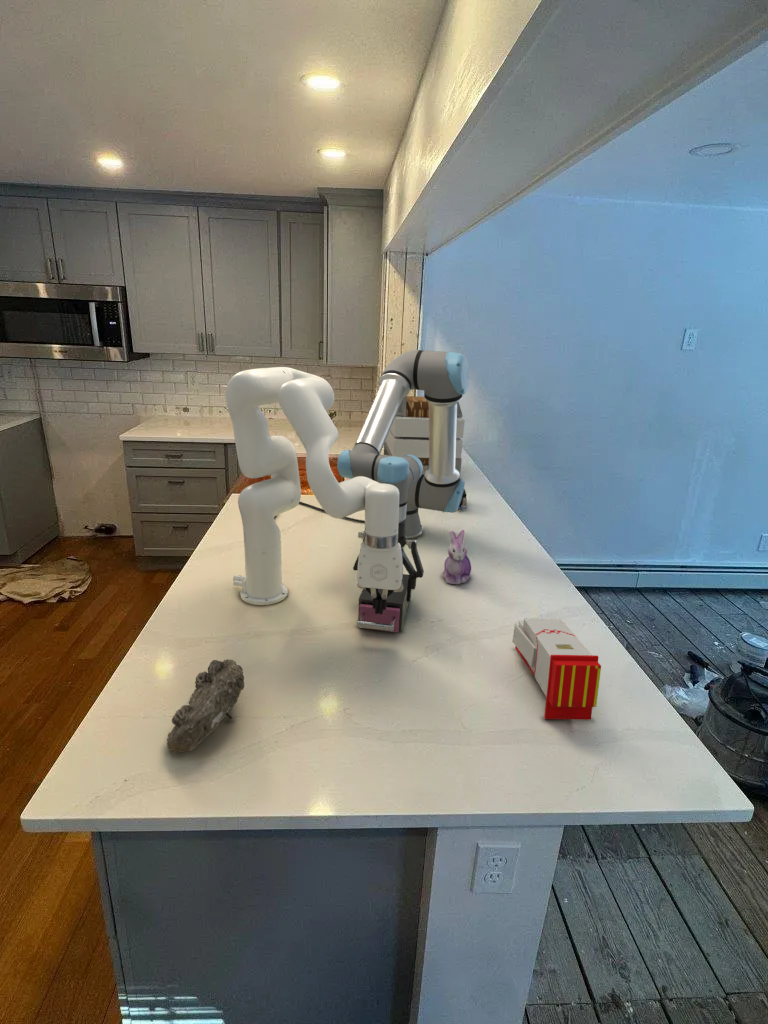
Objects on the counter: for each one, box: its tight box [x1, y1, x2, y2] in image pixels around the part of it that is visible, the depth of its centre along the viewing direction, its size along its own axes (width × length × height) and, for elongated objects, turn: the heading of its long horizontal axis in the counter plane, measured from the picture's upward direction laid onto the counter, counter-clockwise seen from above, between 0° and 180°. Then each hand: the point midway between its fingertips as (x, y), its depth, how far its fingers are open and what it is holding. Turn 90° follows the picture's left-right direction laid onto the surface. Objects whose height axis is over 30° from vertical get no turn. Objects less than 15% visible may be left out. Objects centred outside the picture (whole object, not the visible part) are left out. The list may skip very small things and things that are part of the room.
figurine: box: [442, 529, 472, 585], centre depth 166 cm, size 9×10×15 cm
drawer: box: [356, 603, 400, 633], centre depth 142 cm, size 21×10×6 cm, turn 171°
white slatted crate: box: [383, 395, 465, 475], centre depth 268 cm, size 34×33×41 cm
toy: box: [512, 618, 602, 721], centre depth 123 cm, size 12×13×30 cm
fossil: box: [166, 658, 245, 754], centre depth 106 cm, size 22×10×15 cm
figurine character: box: [458, 488, 468, 511], centre depth 230 cm, size 7×8×15 cm
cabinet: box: [357, 573, 410, 633], centre depth 146 cm, size 16×11×8 cm
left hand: (379, 611), depth 133 cm, fingers closed
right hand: (387, 596), depth 150 cm, fingers closed on cabinet, 11 cm apart
